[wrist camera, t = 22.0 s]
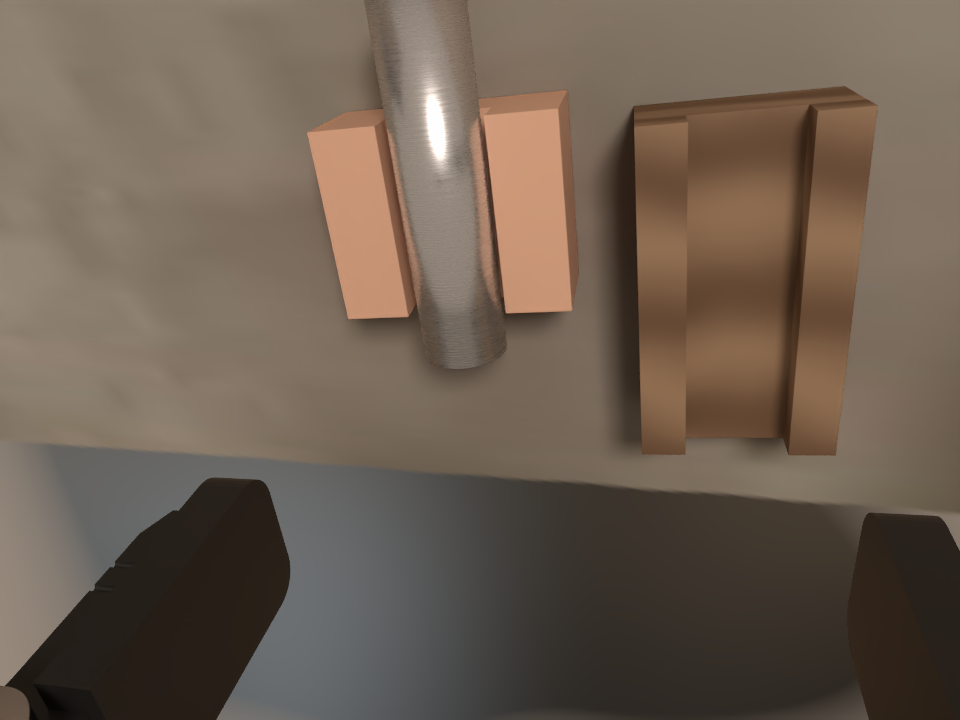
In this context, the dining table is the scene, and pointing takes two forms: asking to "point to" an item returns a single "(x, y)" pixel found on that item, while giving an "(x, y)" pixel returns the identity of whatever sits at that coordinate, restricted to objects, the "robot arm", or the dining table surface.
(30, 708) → the robot arm
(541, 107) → the terracotta cradle
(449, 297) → the steel axle
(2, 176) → the dining table surface
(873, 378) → the dining table surface
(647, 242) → the wooden channel bracket
